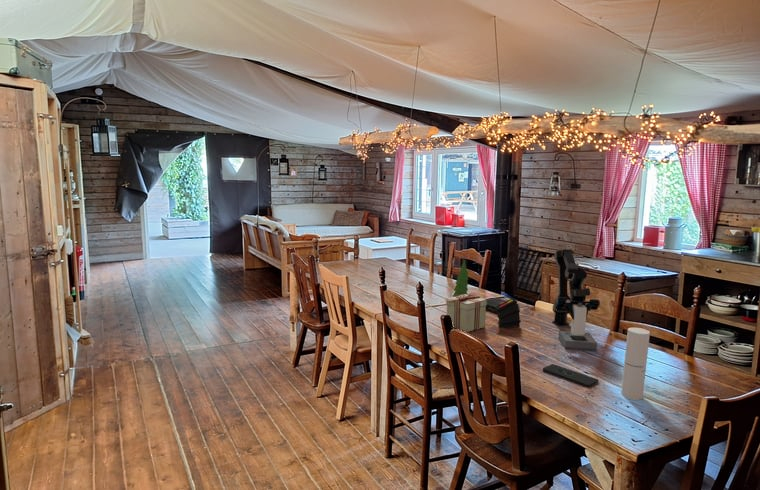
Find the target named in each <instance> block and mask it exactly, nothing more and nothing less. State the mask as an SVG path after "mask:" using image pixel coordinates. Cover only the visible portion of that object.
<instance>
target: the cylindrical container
mask: <svg viewBox="0 0 760 490" xmlns="http://www.w3.org/2000/svg"><path fill="white" fill-rule="evenodd" d="M650 334H651V331H649V330H647V329H645V328H641V327H629V328H627V335H626V345H625V353H624V362H623V363H624V364H623V370H622V371H623V372H622V373H623V374H622V382H621V391H620V392H621V396H623V398H626V399H629V400H634V401H640V400H639V399H641V400H642V399H643V396H644V389H645V379H646V373H647V372H646V371H647V370H646V369H647V364H648V363H647V362H648V353H649V344H650V336H651V335H650Z"/></svg>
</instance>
